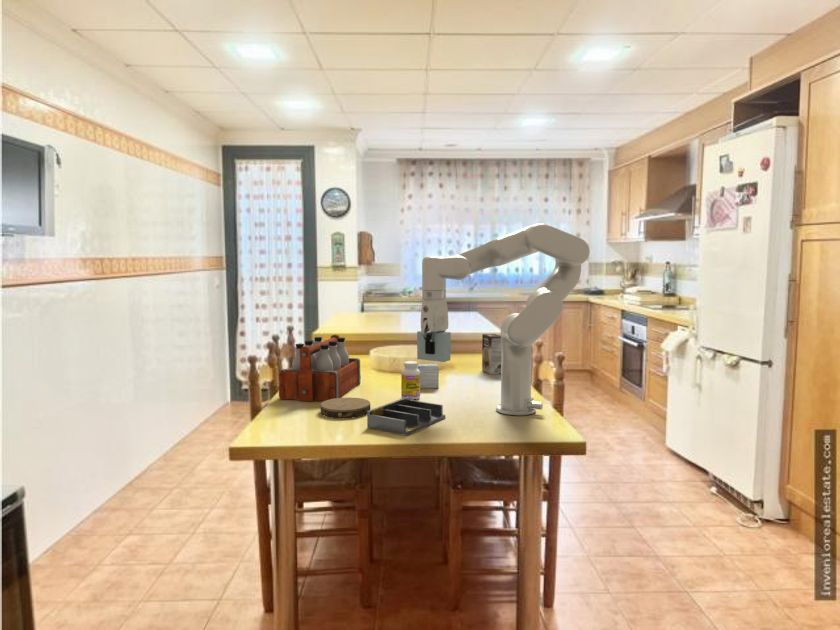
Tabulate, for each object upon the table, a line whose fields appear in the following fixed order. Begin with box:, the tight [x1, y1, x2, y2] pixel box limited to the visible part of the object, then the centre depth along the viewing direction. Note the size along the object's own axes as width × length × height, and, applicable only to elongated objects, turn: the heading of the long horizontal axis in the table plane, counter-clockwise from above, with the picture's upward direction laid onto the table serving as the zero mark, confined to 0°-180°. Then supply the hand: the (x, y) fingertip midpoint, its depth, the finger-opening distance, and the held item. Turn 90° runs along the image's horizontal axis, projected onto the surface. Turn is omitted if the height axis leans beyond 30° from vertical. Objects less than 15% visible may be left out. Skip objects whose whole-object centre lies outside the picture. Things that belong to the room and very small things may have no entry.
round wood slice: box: [320, 397, 371, 419], centre depth 187 cm, size 16×16×3 cm
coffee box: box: [481, 333, 502, 375], centre depth 251 cm, size 9×6×16 cm
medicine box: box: [417, 363, 440, 389], centre depth 222 cm, size 8×4×9 cm, turn 92°
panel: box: [416, 330, 452, 363], centre depth 185 cm, size 10×4×9 cm, turn 57°
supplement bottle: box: [400, 360, 421, 400], centre depth 204 cm, size 7×7×13 cm
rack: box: [366, 396, 446, 437], centre depth 174 cm, size 14×21×5 cm, turn 147°
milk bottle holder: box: [278, 334, 362, 402], centre depth 215 cm, size 21×35×19 cm, turn 169°
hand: (433, 352), depth 186 cm, fingers closed on panel, 4 cm apart
